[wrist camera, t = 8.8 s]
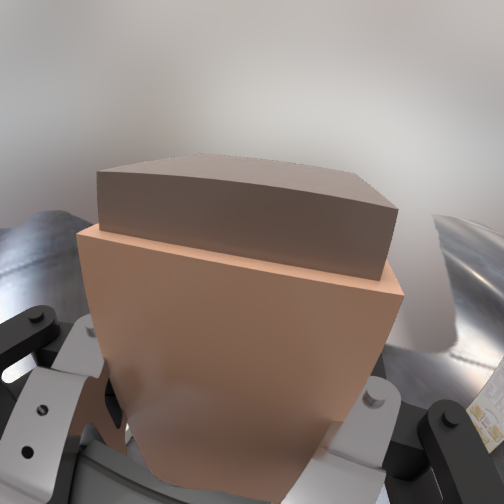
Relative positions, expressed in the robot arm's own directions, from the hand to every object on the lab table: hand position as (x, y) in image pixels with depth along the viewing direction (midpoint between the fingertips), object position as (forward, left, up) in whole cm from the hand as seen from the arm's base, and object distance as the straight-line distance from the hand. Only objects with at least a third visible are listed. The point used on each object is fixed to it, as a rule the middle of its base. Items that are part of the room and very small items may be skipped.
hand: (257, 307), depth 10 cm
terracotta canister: (-3, -1, -6) cm, 7 cm away
